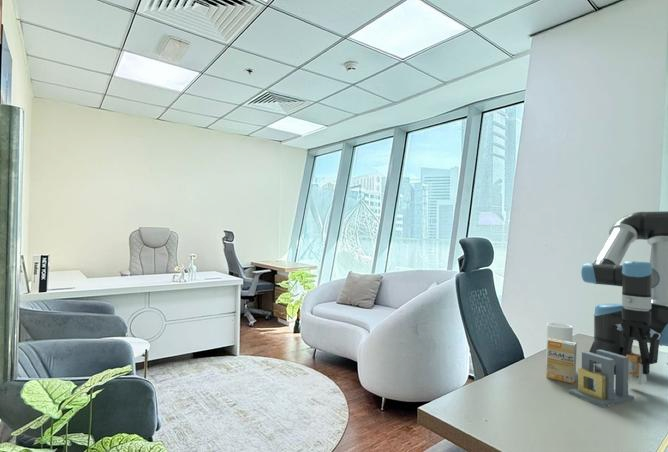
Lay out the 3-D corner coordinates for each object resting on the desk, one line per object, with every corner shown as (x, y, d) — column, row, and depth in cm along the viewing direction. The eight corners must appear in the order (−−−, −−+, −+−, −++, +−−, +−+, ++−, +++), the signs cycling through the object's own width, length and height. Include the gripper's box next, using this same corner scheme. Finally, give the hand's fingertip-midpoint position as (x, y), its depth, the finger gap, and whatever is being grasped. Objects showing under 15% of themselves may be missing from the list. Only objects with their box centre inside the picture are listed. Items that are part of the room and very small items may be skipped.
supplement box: (545, 378, 129) (546, 339, 130) (548, 374, 133) (549, 337, 133) (574, 384, 124) (574, 344, 124) (576, 380, 128) (576, 342, 128)
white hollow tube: (575, 373, 135) (576, 328, 135) (550, 371, 136) (551, 326, 137) (566, 365, 143) (567, 323, 143) (542, 363, 144) (543, 321, 145)
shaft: (633, 371, 124) (633, 353, 124) (644, 374, 121) (644, 356, 121) (593, 378, 116) (593, 358, 116) (604, 382, 113) (604, 362, 113)
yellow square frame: (582, 390, 117) (582, 367, 117) (605, 399, 110) (606, 375, 111) (577, 391, 116) (578, 368, 116) (601, 400, 110) (602, 376, 110)
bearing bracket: (599, 387, 122) (600, 348, 123) (634, 399, 113) (634, 357, 114) (568, 393, 117) (569, 352, 117) (602, 407, 107) (603, 362, 108)
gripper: (602, 304, 129) (601, 373, 128) (659, 314, 114) (658, 392, 113) (616, 303, 132) (615, 371, 131) (673, 313, 117) (672, 389, 116)
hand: (635, 381), depth 122 cm, fingers closed on shaft, 3 cm apart
